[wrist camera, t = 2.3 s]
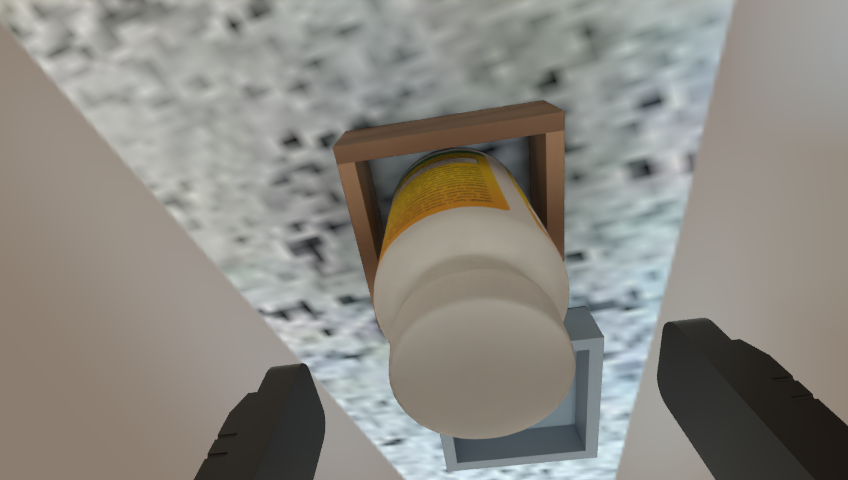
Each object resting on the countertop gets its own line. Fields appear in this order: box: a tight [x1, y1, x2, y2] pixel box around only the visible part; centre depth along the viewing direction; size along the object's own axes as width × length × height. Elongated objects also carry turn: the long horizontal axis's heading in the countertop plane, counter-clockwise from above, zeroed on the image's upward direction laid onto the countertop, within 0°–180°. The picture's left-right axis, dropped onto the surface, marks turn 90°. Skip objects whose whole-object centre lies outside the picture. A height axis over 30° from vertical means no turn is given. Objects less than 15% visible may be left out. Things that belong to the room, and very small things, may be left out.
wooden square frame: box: [333, 100, 565, 327], centre depth 16 cm, size 8×8×2 cm
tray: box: [440, 307, 604, 471], centre depth 20 cm, size 8×8×2 cm
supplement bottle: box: [374, 148, 576, 439], centre depth 13 cm, size 5×5×10 cm
